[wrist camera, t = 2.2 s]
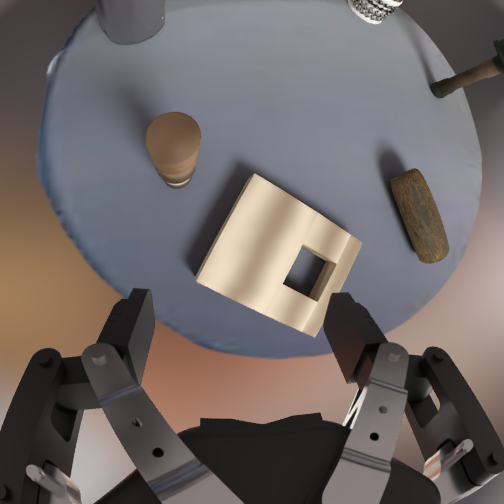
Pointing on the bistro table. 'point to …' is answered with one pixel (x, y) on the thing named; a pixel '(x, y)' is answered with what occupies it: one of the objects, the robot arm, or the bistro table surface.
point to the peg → (174, 147)
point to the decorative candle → (373, 9)
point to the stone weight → (420, 216)
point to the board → (276, 255)
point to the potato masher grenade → (472, 73)
